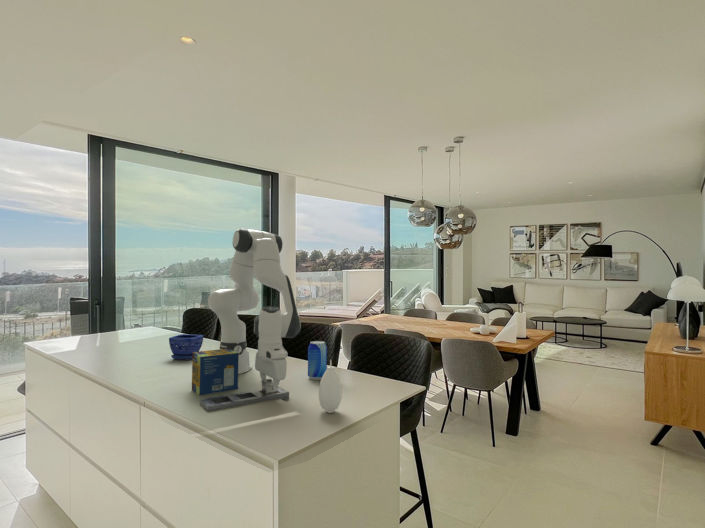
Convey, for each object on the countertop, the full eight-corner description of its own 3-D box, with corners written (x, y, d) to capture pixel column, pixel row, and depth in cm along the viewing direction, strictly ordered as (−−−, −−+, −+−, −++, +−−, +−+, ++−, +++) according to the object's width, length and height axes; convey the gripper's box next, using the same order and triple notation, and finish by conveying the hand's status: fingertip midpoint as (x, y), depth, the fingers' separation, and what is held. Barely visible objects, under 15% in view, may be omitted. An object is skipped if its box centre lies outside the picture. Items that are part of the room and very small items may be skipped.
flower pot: (181, 355, 228) (181, 333, 228) (203, 356, 226) (204, 334, 226) (167, 360, 215) (168, 337, 215) (191, 361, 213) (191, 338, 213)
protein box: (191, 391, 161) (191, 351, 162) (229, 385, 170) (230, 347, 171) (198, 398, 153) (199, 356, 153) (238, 391, 162) (239, 352, 162)
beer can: (303, 377, 183) (304, 342, 184) (317, 374, 189) (318, 339, 190) (316, 381, 178) (317, 344, 178) (330, 378, 184) (330, 342, 184)
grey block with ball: (261, 394, 154) (261, 379, 154) (271, 392, 157) (272, 377, 157) (266, 397, 151) (266, 381, 151) (276, 395, 153) (277, 380, 153)
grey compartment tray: (200, 406, 143) (200, 399, 143) (278, 392, 161) (278, 386, 161) (207, 414, 136) (208, 406, 136) (289, 398, 154) (289, 392, 154)
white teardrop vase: (314, 414, 138) (315, 360, 138) (324, 407, 145) (325, 356, 145) (336, 417, 135) (336, 362, 135) (344, 410, 142) (345, 358, 143)
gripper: (251, 346, 161) (250, 381, 160) (273, 355, 144) (273, 395, 144) (266, 344, 164) (265, 379, 164) (289, 353, 148) (289, 392, 148)
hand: (269, 386), depth 154 cm, fingers open, 8 cm apart
